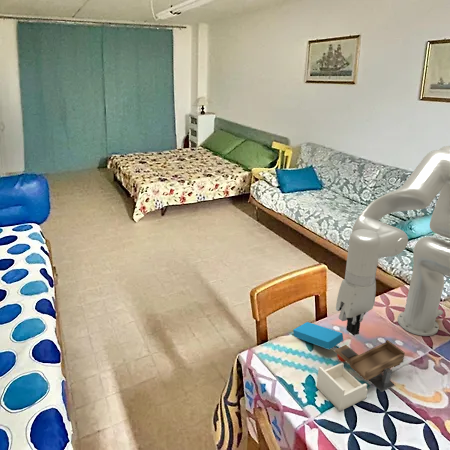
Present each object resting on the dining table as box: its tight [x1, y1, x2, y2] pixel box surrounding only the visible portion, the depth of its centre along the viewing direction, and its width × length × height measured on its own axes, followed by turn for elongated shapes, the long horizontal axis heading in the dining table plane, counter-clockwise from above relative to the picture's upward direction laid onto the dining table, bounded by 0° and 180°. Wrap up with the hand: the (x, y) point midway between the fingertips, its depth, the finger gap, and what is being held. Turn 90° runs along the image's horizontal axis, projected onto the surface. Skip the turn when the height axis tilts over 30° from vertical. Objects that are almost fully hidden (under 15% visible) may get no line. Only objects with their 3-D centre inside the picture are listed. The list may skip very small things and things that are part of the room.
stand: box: [367, 368, 396, 393], centre depth 112 cm, size 5×10×6 cm, turn 28°
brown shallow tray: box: [334, 339, 406, 382], centre depth 113 cm, size 14×12×5 cm
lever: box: [292, 321, 346, 363], centre depth 124 cm, size 7×7×18 cm
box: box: [316, 362, 369, 412], centre depth 106 cm, size 9×9×7 cm
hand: (352, 332), depth 111 cm, fingers closed
